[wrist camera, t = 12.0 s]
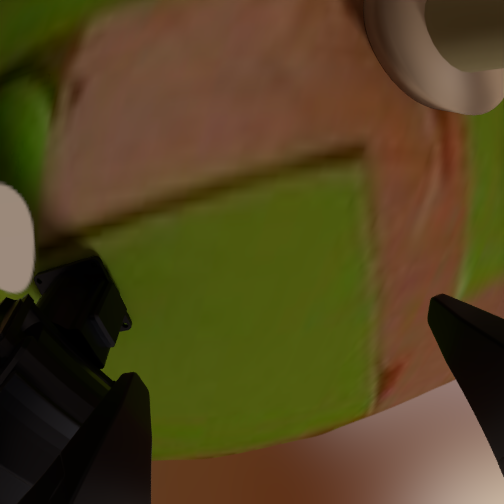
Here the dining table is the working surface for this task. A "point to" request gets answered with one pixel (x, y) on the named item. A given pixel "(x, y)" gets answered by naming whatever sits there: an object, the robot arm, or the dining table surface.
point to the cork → (467, 32)
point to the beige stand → (426, 61)
